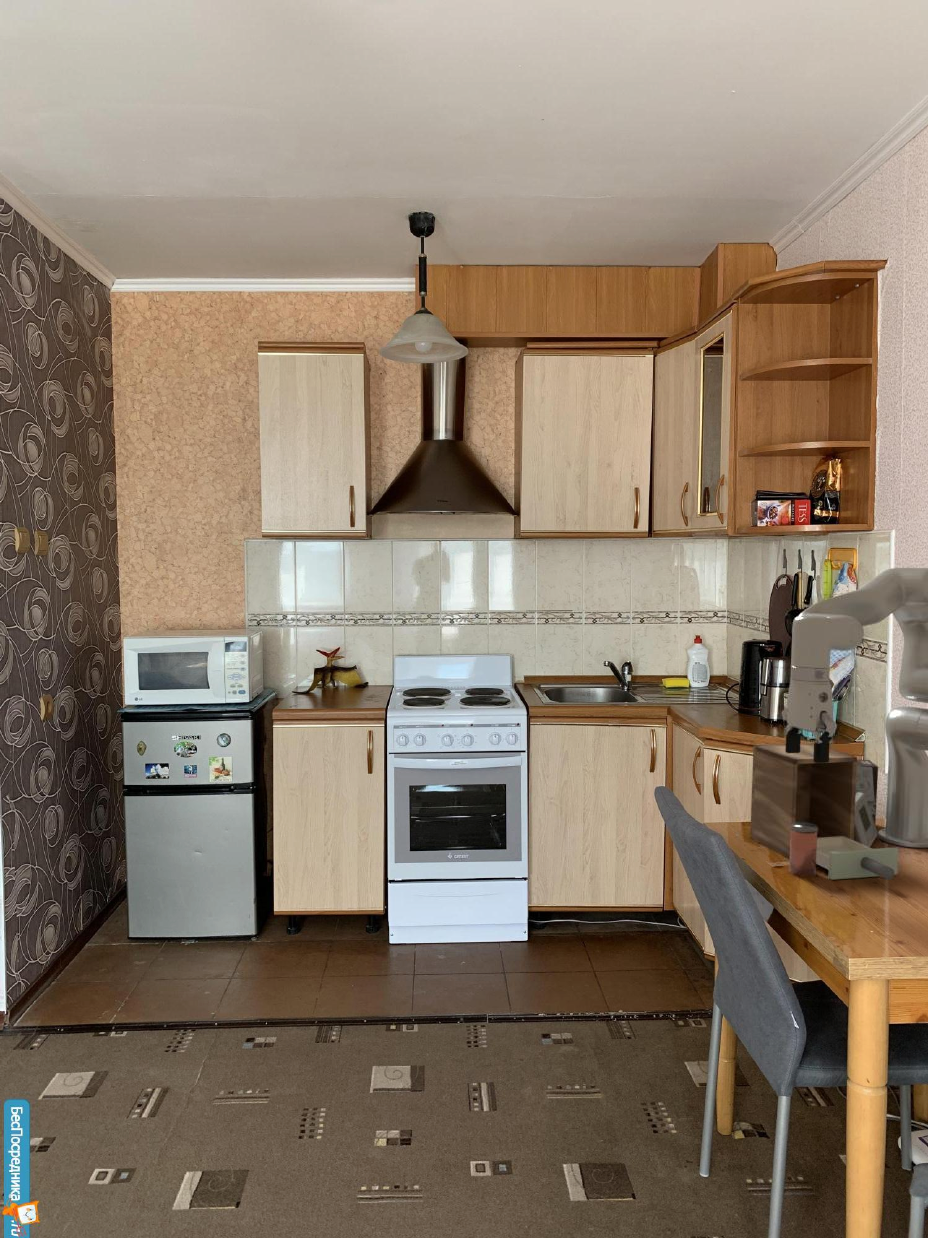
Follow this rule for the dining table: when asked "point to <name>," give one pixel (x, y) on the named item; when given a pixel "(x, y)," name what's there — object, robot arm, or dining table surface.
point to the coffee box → (867, 783)
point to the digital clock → (863, 822)
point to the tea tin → (803, 849)
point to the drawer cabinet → (801, 794)
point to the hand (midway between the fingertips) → (806, 757)
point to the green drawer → (855, 859)
